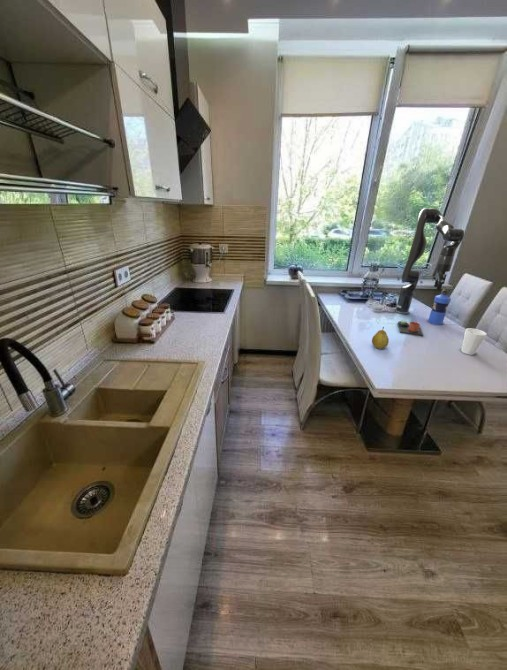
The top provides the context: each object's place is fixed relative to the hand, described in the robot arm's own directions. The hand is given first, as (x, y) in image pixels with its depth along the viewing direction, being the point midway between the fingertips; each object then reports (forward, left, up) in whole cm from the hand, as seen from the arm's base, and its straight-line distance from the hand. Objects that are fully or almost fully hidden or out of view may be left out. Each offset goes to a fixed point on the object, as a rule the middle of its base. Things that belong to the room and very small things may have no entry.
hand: (437, 288), depth 178 cm
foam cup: (+30, +18, -28) cm, 45 cm away
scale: (+8, -10, -28) cm, 31 cm away
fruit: (+45, -30, -28) cm, 61 cm away
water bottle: (-16, +9, -28) cm, 34 cm away
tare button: (+3, -14, -26) cm, 30 cm away
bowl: (+11, -8, -27) cm, 30 cm away
